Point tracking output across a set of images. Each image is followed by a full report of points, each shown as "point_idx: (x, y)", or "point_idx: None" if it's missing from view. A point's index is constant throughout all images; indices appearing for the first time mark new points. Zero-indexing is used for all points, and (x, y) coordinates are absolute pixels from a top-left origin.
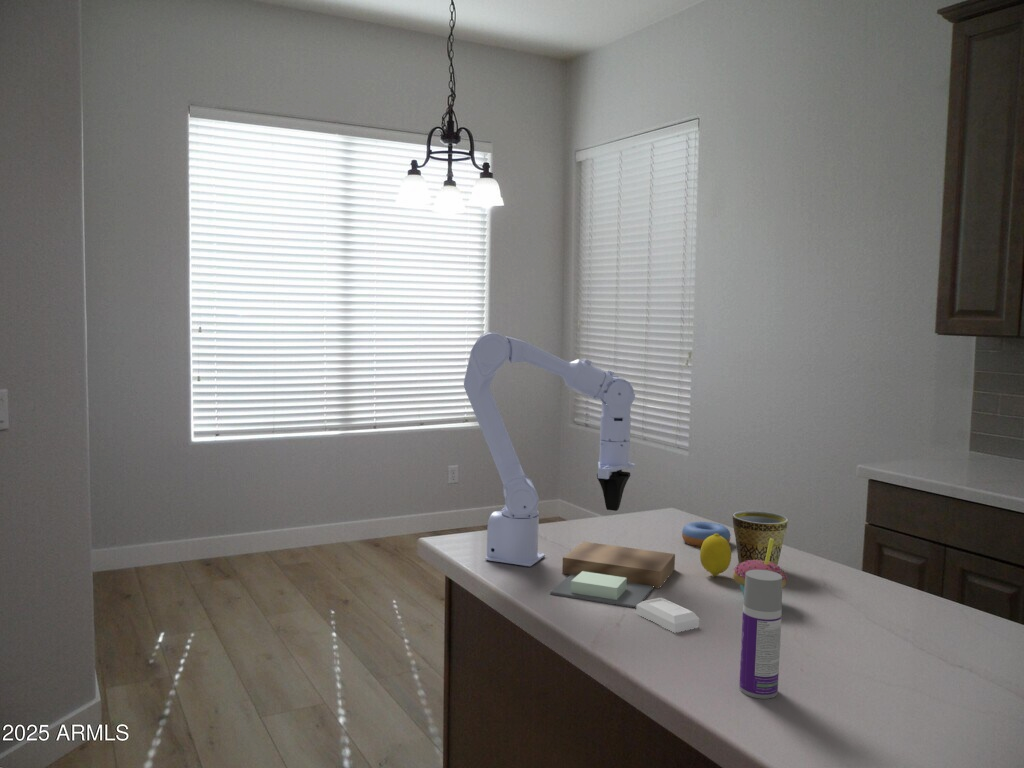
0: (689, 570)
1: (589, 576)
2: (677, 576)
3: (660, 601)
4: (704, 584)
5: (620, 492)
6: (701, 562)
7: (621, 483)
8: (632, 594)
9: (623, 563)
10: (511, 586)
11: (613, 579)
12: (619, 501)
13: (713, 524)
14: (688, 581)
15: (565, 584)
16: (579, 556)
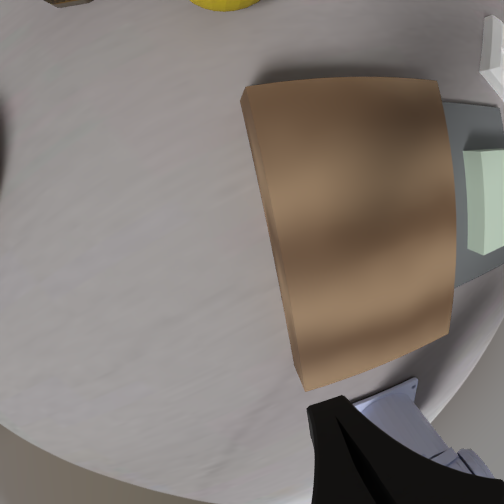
0: (213, 64)
1: (499, 224)
2: (296, 72)
3: (501, 67)
4: (309, 3)
5: (396, 460)
6: (254, 3)
7: (481, 477)
8: (474, 129)
9: (438, 193)
10: (490, 324)
11: (495, 173)
12: (354, 426)
13: None
14: (316, 37)
15: (481, 265)
16: (432, 315)
